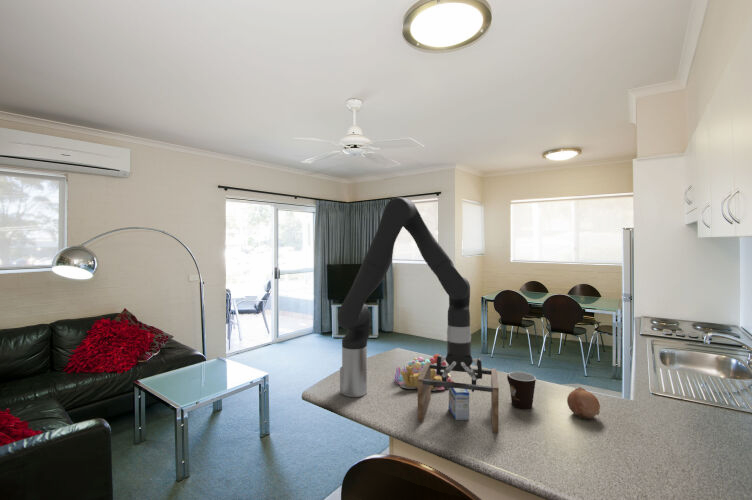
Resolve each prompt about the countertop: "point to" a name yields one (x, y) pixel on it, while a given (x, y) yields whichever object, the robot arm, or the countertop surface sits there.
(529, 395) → the coffee mug
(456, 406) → the medicine box
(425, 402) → the frame
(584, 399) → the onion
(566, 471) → the countertop surface
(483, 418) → the countertop surface
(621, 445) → the countertop surface
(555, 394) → the countertop surface
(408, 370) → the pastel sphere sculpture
